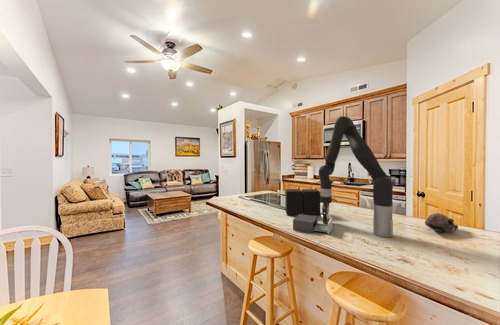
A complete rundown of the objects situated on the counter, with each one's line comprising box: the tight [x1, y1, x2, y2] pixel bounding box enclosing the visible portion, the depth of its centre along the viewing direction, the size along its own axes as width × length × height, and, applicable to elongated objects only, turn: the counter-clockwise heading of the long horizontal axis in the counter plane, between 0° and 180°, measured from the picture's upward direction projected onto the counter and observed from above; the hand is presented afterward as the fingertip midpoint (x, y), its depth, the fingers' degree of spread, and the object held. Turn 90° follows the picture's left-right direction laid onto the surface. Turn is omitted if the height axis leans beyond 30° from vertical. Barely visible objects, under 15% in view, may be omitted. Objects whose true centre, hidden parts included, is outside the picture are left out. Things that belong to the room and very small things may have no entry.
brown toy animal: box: [424, 212, 459, 233], centre depth 127 cm, size 25×12×10 cm, turn 121°
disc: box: [320, 213, 332, 220], centre depth 144 cm, size 6×6×2 cm
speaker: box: [284, 188, 321, 217], centre depth 168 cm, size 25×11×19 cm, turn 86°
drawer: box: [314, 216, 333, 235], centre depth 131 cm, size 9×13×6 cm
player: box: [292, 213, 319, 234], centre depth 136 cm, size 12×14×6 cm
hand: (325, 220), depth 144 cm, fingers closed on disc, 6 cm apart
